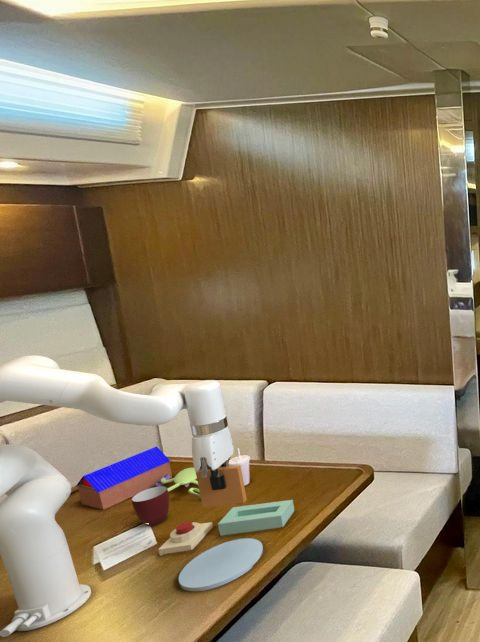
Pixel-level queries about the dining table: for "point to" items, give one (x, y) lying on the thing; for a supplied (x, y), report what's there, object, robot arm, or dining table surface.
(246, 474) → the smoothie
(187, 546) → the control block
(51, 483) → the robot arm
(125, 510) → the dining table surface
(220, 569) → the plate
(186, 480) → the figurine
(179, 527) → the stop button
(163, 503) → the mug
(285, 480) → the dining table surface
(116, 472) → the house
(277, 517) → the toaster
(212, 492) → the copper rectangular plank
